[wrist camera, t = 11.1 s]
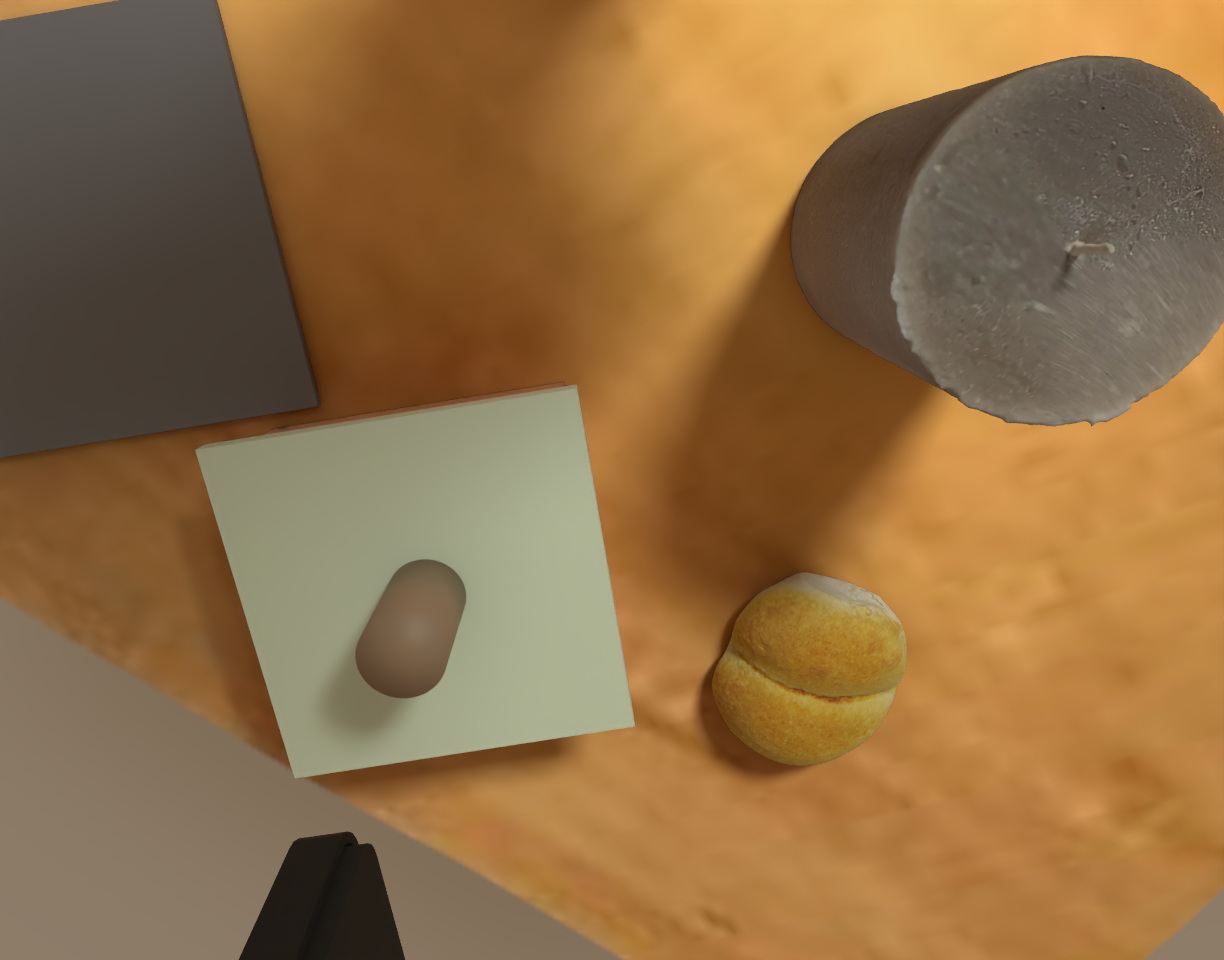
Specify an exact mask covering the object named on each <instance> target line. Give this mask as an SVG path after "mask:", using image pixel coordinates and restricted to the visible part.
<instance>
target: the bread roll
mask: <svg viewBox="0 0 1224 960" xmlns="http://www.w3.org/2000/svg"><path fill="white" fill-rule="evenodd" d="M906 659H907V649H906V638H905V632H904V630H903V628H902V625H901V623H900V620H899V619H898V617H897V616H896V615H895V614H894V613H893V612H892V611H891V610H890V608H889V607H888V606H887V605H886V604H885V603H884V601H883V600H882V599H881V598H880V597H879V596H878V595H876V594H873V593H871V592H869V591H867V590H865V589H862V588H860V587H857V586H855V585H853V584H851V583H848V582H846V581H842V580H839V579H834V578H831V577H828V576H821V575H817V574H814V573H807V572H802V573H796V574H794V575H792V576H790V577H788V578H786V579H784V580H782V581H780V582H779V583H776V584H774V585H772V586H770V587H768V588H766V589H764V590H763V591H761V592H760V593H759V594H757V595H756V596H755V597H754V598H753V599H752V600H751V601H750V602H749V603H748V604H747V605H746V607H745V608H744V609H743V611H742V612H741V613H740V615H739V617H738V618H737V620H736V622H735V625H734V629H733V632H732V637H731V640H730V642H729V644H728V647H727V649H726V651H725V653H724V655H723V656H722V657H721V659H720V661H719V663H718V665H717V667H716V669H715V672H714V675H713V680H712V692H713V697H714V701H715V703H716V705H717V708H718V710H719V712H720V714H721V716H722V718H723V719H724V721H725V723H726V724H727V726H728V727H729V729H730V730H731V731H732V733H733V734H734V735H735V736H737V737H738V738H739V739H740V740H741V741H742V742H744V743H745V744H746V745H747V746H749V747H750V748H751V749H753V750H754V751H756V752H757V753H759V754H761V755H763V756H764V757H766V758H768V759H771V760H774V761H776V762H779V763H783V764H788V765H799V766H809V765H816V764H821V763H825V762H828V761H831V760H834V759H836V758H838V757H840V756H842V755H844V754H846V753H847V752H849V751H851V750H853V749H854V748H856V747H857V746H859V745H860V744H862V743H863V742H864V741H865V740H867V739H868V738H869V737H870V736H871V735H872V734H873V733H874V732H875V731H876V730H877V728H878V727H879V726H880V724H881V723H882V721H883V719H884V717H885V716H886V715H887V713H888V711H889V708H890V706H891V703H892V700H893V698H894V696H895V693H896V690H897V687H898V685H899V683H900V681H901V678H902V676H903V674H904V671H905V667H906Z"/></svg>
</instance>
